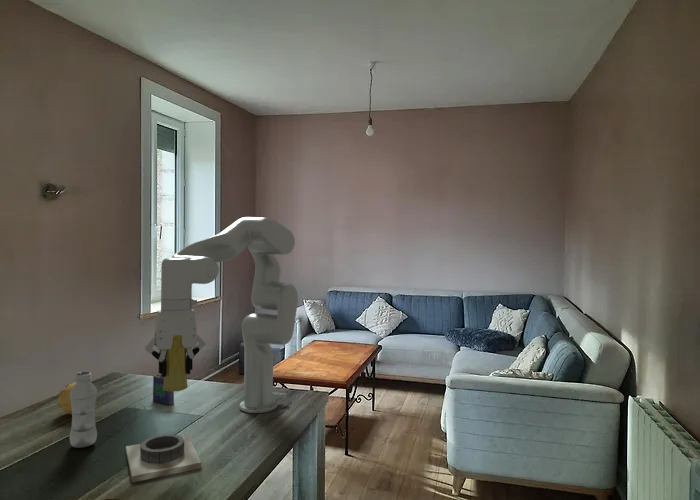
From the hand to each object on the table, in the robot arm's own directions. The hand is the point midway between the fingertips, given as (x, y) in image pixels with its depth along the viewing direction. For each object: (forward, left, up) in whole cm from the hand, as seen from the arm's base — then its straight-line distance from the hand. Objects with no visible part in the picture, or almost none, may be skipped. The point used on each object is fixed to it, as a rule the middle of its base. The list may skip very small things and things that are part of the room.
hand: (175, 373), depth 130 cm
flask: (-3, -43, -22) cm, 49 cm away
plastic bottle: (+21, -17, -22) cm, 35 cm away
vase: (0, 0, -4) cm, 4 cm away
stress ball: (+23, -44, -22) cm, 55 cm away
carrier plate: (+3, +1, -22) cm, 22 cm away
